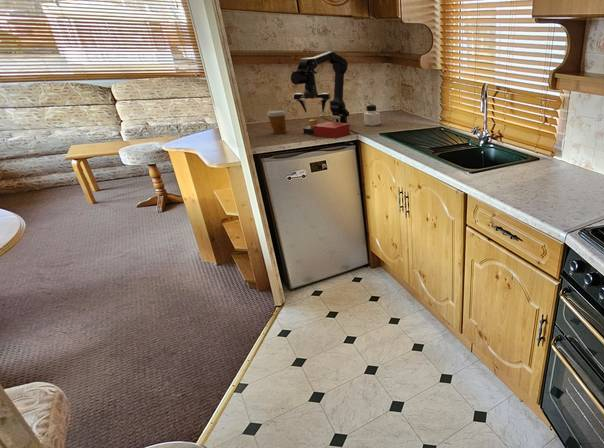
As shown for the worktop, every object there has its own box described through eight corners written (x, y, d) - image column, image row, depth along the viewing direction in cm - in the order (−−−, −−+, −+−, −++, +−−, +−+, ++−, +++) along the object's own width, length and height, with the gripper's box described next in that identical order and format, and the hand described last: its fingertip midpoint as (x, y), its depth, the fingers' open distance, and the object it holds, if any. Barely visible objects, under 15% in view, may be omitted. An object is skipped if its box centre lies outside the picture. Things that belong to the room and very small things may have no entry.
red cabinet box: (329, 131, 236) (327, 123, 234) (350, 133, 231) (348, 125, 229) (314, 135, 225) (312, 127, 223) (335, 138, 221) (334, 129, 219)
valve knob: (309, 127, 230) (308, 120, 228) (310, 126, 233) (309, 118, 232) (317, 127, 230) (316, 120, 228) (318, 126, 234) (317, 118, 232)
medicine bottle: (381, 124, 257) (379, 104, 252) (372, 126, 251) (370, 106, 246) (372, 122, 260) (371, 103, 255) (364, 124, 255) (362, 105, 250)
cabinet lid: (328, 122, 235) (327, 114, 232) (349, 124, 230) (348, 116, 228) (312, 127, 223) (311, 118, 221) (334, 129, 219) (333, 120, 217)
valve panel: (314, 130, 239) (314, 124, 237) (326, 131, 236) (326, 125, 235) (302, 133, 230) (301, 127, 229) (314, 134, 228) (314, 129, 226)
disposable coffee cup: (292, 131, 235) (288, 110, 230) (283, 134, 226) (279, 113, 221) (276, 130, 235) (272, 109, 230) (267, 134, 227) (262, 112, 222)
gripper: (288, 84, 213) (293, 114, 220) (324, 84, 216) (329, 114, 222) (293, 82, 223) (298, 111, 230) (328, 82, 226) (332, 110, 232)
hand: (314, 112), depth 228 cm, fingers open, 9 cm apart
